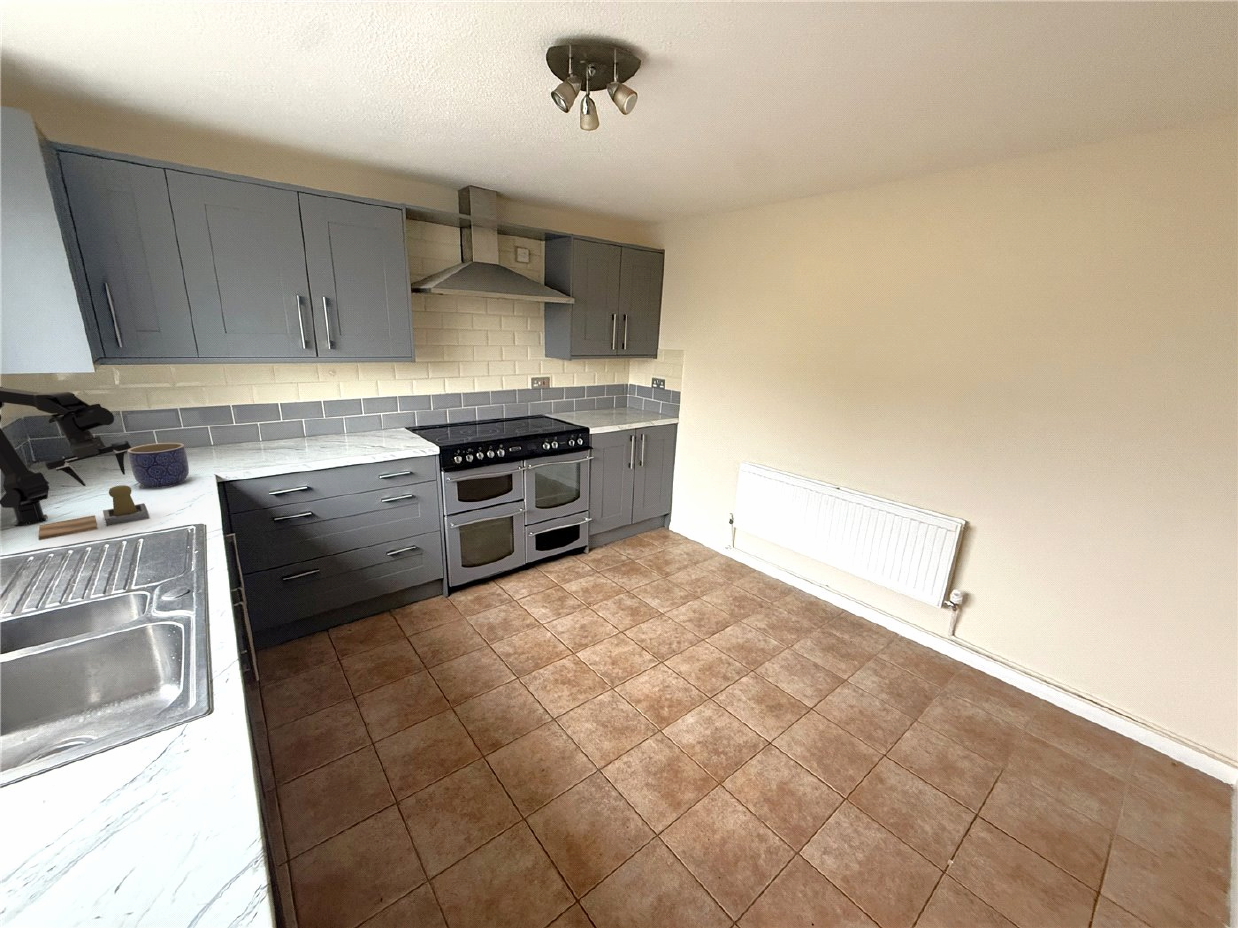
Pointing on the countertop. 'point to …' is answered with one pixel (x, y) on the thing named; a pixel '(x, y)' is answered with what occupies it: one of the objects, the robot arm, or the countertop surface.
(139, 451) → the planter
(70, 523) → the walnut board
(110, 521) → the steel collar
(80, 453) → the robot arm
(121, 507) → the cork
